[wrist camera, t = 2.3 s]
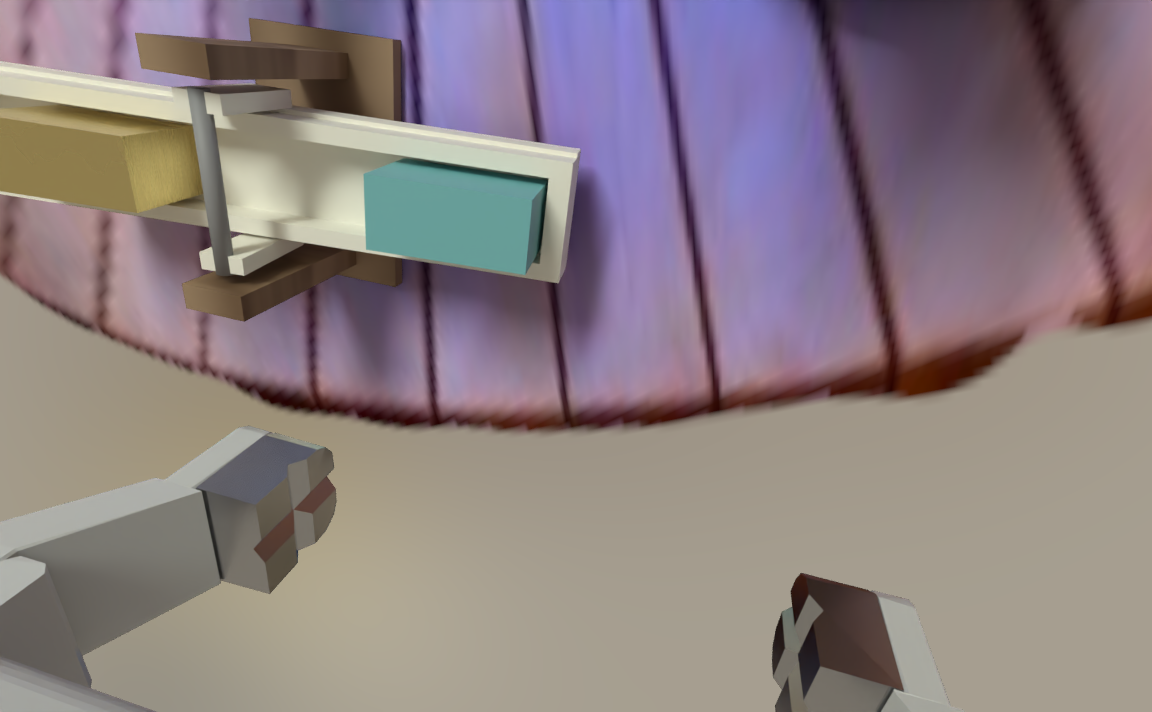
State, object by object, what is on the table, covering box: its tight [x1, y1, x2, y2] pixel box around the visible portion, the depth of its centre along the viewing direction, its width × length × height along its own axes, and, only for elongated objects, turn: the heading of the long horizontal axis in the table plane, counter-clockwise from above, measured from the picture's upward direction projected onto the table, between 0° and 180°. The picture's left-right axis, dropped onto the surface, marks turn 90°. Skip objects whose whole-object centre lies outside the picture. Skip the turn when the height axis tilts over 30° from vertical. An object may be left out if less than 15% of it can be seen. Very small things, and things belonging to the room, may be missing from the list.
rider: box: [363, 158, 549, 275], centre depth 27 cm, size 7×3×4 cm, turn 83°
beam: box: [0, 61, 581, 283], centre depth 28 cm, size 30×8×6 cm, turn 83°
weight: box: [0, 105, 203, 213], centre depth 27 cm, size 7×3×4 cm, turn 83°
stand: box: [135, 18, 402, 321], centre depth 29 cm, size 8×13×10 cm, turn 173°
